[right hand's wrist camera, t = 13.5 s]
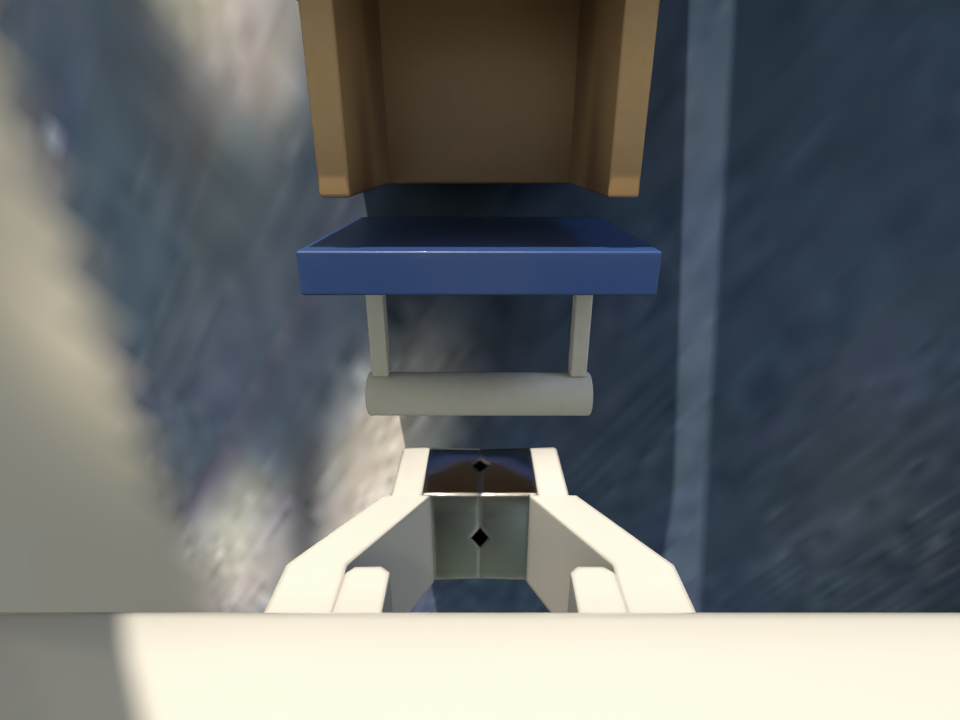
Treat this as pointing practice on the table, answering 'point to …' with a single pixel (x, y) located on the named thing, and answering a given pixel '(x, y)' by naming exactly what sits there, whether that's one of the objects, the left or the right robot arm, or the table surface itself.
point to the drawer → (479, 170)
